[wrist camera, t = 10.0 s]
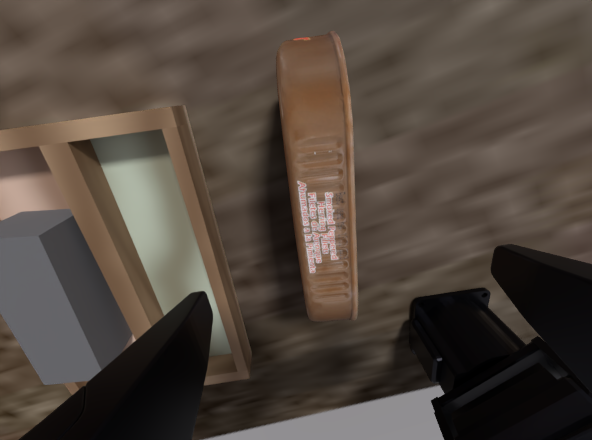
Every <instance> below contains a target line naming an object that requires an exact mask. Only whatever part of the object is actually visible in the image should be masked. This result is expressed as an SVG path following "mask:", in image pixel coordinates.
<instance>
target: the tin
mask: <svg viewBox="0 0 592 440" xmlns="http://www.w3.org/2000/svg"><path fill="white" fill-rule="evenodd" d="M276 74H277V88H278V98H279V108H280V117H281V126H282V134H283V144H284V152H285V160H286V168H287V177H288V184H289V191H290V200H291V208H292V216H293V224H294V231H295V239H296V245H297V253H298V259H299V266H300V273H301V279H302V285H303V292H304V299H305V305H306V310H307V315H308V317H309V319H310V320H311V321H318V322H320V321H333V320H345V319H349V320H351V321H354V320H356V318H357V313H358V274H357V245H356V243H357V242H356V209H355V178H354V138H353V119H352V108H351V98H350V88H349V82H348V75H347V68H346V62H345V56H344V52H343V48H342V45H341V42H340V38H339V36H338V35H337V33H336V32H335V31H330V32H329V33H328V34H326V35H320V36H315V37H306V38H297V39H292V40H288V41H285V42H283V43H282V44H281V46H280V47H279V49H278V51H277V56H276Z"/></svg>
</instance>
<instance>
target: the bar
mask: <svg viewBox="0 0 592 440" xmlns="http://www.w3.org/2000/svg"><path fill="white" fill-rule="evenodd" d="M0 313H1V315H2V316H3V318H4V320H5V321H6V323H7V325H8V326H9V328H10V329H11V331H12V333H13V334H14V336H15V338H16V339H17V341H18V343H19V344H20V346H21V347H22V349H23V351H24V352H25V354H26V356H27V357H28V359H29V361H30V362H31V364H32V365H33V367H34V369H35V370H36V372H37V374H38V375H39V377H40V379H41V380H42V382H43V384H44V385H49V384H60V383H71V382H82V381H89V380H91V379H92V378H93V377H94V376H95V375H96V374H97V373H99V372H100V371H101V370H102V369H103V368H104V367H106V366H107V365H108V364H109V363H110V362H111V361H113V360H114V359H115V358H116V357H117V356H118V355H119V354H121V353H122V351H123V349H124V348H125V346H126V344H127V343H128V341H129V339H130V338H131V336H132V332H131V330H130V328H129V326H128V324H127V322H126V320H125V318H124V316H123V314H122V312H121V310H120V308H119V306H118V304H117V302H116V300H115V298H114V296H113V294H112V292H111V290H110V288H109V286H108V284H107V282H106V280H105V278H104V276H103V274H102V272H101V270H100V268H99V266H98V264H97V262H96V260H95V258H94V256H93V254H92V252H91V250H90V248H89V246H88V244H87V242H86V240H85V238H84V236H83V234H82V232H81V230H80V228H79V226H78V224H77V222H76V220H75V218H74V216H73V214H72V212H71V210H70V209H58V210H41V211H24V212H20V213H17V214H15V215H13V216H11V217H9V218H6V219H4V220H2V221H0Z"/></svg>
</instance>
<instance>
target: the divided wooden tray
mask: <svg viewBox="0 0 592 440" xmlns="http://www.w3.org/2000/svg"><path fill="white" fill-rule="evenodd" d="M58 209H70V210H71V212H72V214H73V216H74V218H75V220H76V222H77V224H78V226H79V228H80V230H81V232H82V234H83V236H84V238H85V240H86V242H87V244H88V246H89V248H90V250H91V252H92V254H93V256H94V258H95V260H96V262H97V264H98V266H99V268H100V270H101V272H102V274H103V276H104V278H105V280H106V282H107V284H108V286H109V288H110V290H111V292H112V294H113V296H114V298H115V300H116V302H117V304H118V306H119V308H120V310H121V312H122V314H123V316H124V318H125V320H126V322H127V324H128V326H129V328H130V330H131V332H132V336H131V338H130V339H129V341H128V343H127V344H126V346H125V348H124V349H123V351H124V350H125V349H126V348H128V347H129V346H130V345H131V344H132V343H133V342H134V341H136V340H137V339H138V338H139V337H140V336H141V335H143V334H144V333H145V332H146V331H147V330H148V329H150V328H151V327H152V326H153V325H154V324H155V323H156V322H158V321H159V320H160V319H161V318H162V317H163V316H165V315H166V314H167V313H168V312H169V311H170V310H171V309H173V308H174V307H175V306H176V305H177V304H178V303H180V302H181V301H182V300H183V299H184V298H185V297H187V296H188V295H189V294H190V293H192V292H198V291H205V292H206V294H207V296H208V299H209V302H210V305H211V308H212V311H213V325H212V334H211V343H210V352H209V361H208V368H207V373H206V378H205V382H204V385H211V384H217V383H224V382H230V381H237V380H243V379H250V370H251V358H252V351H251V348H250V344H249V340H248V337H247V333H246V329H245V326H244V322H243V318H242V314H241V311H240V307H239V303H238V300H237V296H236V292H235V288H234V285H233V281H232V277H231V274H230V270H229V266H228V263H227V259H226V255H225V251H224V248H223V244H222V240H221V237H220V233H219V229H218V225H217V222H216V218H215V214H214V211H213V207H212V203H211V200H210V196H209V192H208V188H207V185H206V181H205V177H204V174H203V170H202V166H201V163H200V159H199V155H198V151H197V148H196V144H195V140H194V137H193V133H192V129H191V125H190V122H189V118H188V114H187V111H186V107H185V105H183V106H173V107H165V108H158V109H150V110H143V111H136V112H129V113H121V114H114V115H107V116H100V117H92V118H85V119H78V120H71V121H63V122H56V123H49V124H42V125H35V126H27V127H20V128H13V129H6V130H0V221H2V220H4V219H6V218H9V217H11V216H13V215H15V214H17V213H20V212H24V211H41V210H58ZM123 351H122V352H123ZM87 382H88V381H82V382H71V383H64V384H65V386H66V387H67V389H68V390H69V391H70V393H71V394H72V395H73V394H74V393H75V392H77V391H78V390H79V389H80V388H81V387H82V386H86V383H87Z"/></svg>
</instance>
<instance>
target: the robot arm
mask: <svg viewBox="0 0 592 440" xmlns="http://www.w3.org/2000/svg"><path fill="white" fill-rule="evenodd" d="M491 273H492V275H493V277H494V278H495V280H496V281H497V283H498V284H499V285H500V287H501V288H502V289H503V291H504V292H505V293H506V295H507V296H508V297H509V299H510V300H511V301H512V303H513V304H514V305H515V307H516V308H517V309H518V311H519V312H520V313H521V314H522V316H523V317H524V318H525V319H526V321H527V322H528V323H529V324H530V325H531V326H532V327H533V329H534V330H535V331H536V332H537V333H538V334H539V335H540V336H541V337H542V339H543V340H544V341H543V340H542V339H541V338H540V337H538V336H537V337H535V338H534V339H532V340H531V341H532V342H530V343H529V344H527V345H526V344H525V343H524V342H523V341H522V340H521V339H520V338H519V337H518V336H517V335H516V334H515V333H514V332H513V331H512V330H511V329H510V328H509V327H508V326H506V325H505V324H504V323H503V322H502V321H501V320H500V319H499V318H498V317H497V316H496V315H495V314H494V313H493V312H492V311H491V310H490V309H489V308H488V303H489V299H490V292H489V291H488V290H487V289H486V288H477V289H470V290H463V291H457V292H450V293H444V294H437V295H430V296H424V297H418V298H416V299H415V300H414V302H413V317H412V321H411V322H410V337H409V342H410V344H411V351H412V352H413V354H416V355H417V357H418V359H419V361H420V362H421V364H422V366H423V368H424V370H425V371H426V373H427V375H428V377H429V379H430V381H432V382H433V383H439V385H440V386H441V388H442V390H443V391H444V393H445V394H444V395H442V396H441V397H439V398H438V397H436V398H434V399H433V400H431V403H432V405H433V408H434V410H435V413H434V414H435V416H436V419H437V422H438V424H439V427H440V430H441V432H442V435H443V437H444V440H592V264H589V263H585V262H581V261H577V260H573V259H569V258H565V257H561V256H557V255H553V254H549V253H545V252H541V251H537V250H533V249H529V248H525V247H521V246H517V245H513V244H507V245H500V246H497V247H496V248H495V249H494V253H493V258H492V264H491ZM212 325H213V311H212V308H211V305H210V302H209V299H208V296H207V294H206V292H205V291H198V292H192V293H190V294H189V295H188V296H187V297H185V298H184V299H183V300H182V301H181V302H180V303H178V304H177V305H176V306H175V307H174V308H173V309H171V310H170V311H169V312H168V313H167V314H166V315H165V316H163V317H162V318H161V319H160V320H159V321H158V322H156V323H155V324H154V325H153V326H152V327H151V328H150V329H148V330H147V331H146V332H145V333H144V334H143V335H141V336H140V337H139V338H138V339H137V340H136V341H134V342H133V343H132V344H131V345H130V346H129V347H128V348H126V349H125V350H124V351H123V352H122V353H121V354H119V355H118V356H117V357H116V358H115V359H114V360H113V361H111V362H110V363H109V364H108V365H107V366H106V367H104V368H103V369H102V370H101V371H100V372H99V373H97V374H96V375H95V376H94V377H93V378H92V379H91V380H89V381H88V382H87V383H86V386H82V387H81V388H80V389H79V390H78V391H77V392H75V393H74V394H73V395H72V396H71V397H70V398H68V399H67V400H66V401H65V402H64V403H63V404H61V405H60V406H59V407H58V408H57V409H55V410H54V411H53V412H52V413H51V414H50V415H48V416H47V417H46V418H45V419H44V420H42V421H41V422H40V423H39V424H37V425H36V426H35V427H34V428H32V429H31V430H30V431H29V432H27V433H26V434H25V435H24V436H22V437H21V438H20V439H19V440H192V435H193V431H194V426H195V422H196V417H197V413H198V409H199V404H200V400H201V395H202V391H203V386H204V382H205V378H206V373H207V368H208V361H209V352H210V343H211V334H212Z"/></svg>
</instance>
